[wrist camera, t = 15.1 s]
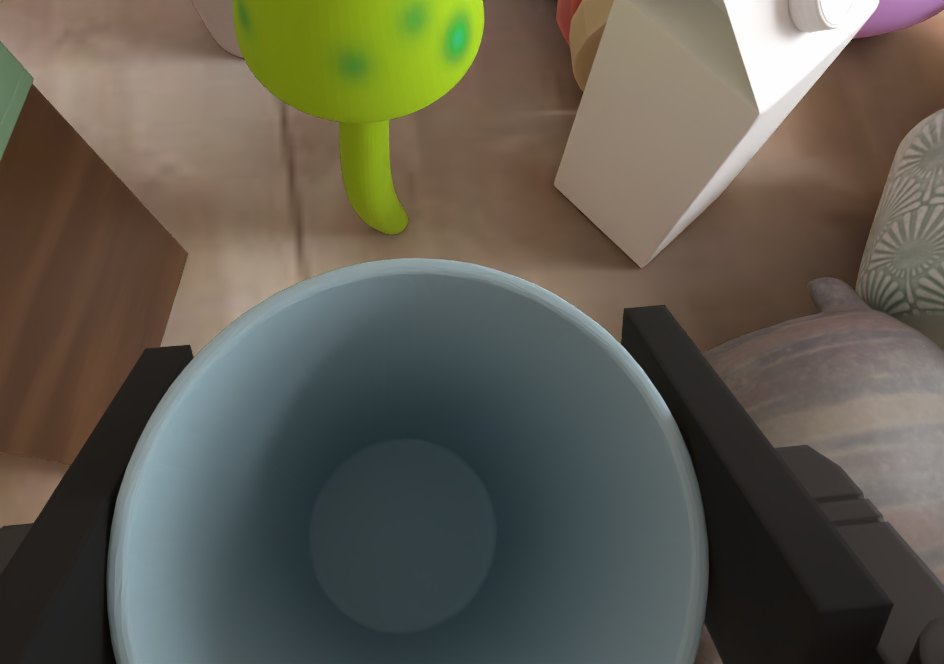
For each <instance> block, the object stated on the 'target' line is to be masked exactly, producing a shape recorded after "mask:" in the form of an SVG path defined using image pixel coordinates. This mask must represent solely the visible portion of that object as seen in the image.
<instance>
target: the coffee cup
mask: <svg viewBox="0 0 944 664" xmlns="http://www.w3.org/2000/svg"><path fill="white" fill-rule="evenodd" d="M191 2H192V3H193V5H194V7H195V8H196V10H197V12H198V13H199V15H200V17H201V18H202V20H203V22H204V23H205V25H206V27H207V28H208V30H209V32H210V33H211V35H212V37H213V38H214V40H215V41H216V42H217V43H218V44H219V45H220V46H221V47H222V48H223V49H225V50H226V51H228V52H229V53H231V54H233V55H236V56H238V57H241V58H243V56H242V53H241V51H240V48H239V45H238V42H237V38H236V33H235V28H234V20H233V5H232V0H191Z"/></svg>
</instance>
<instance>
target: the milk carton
mask: <svg viewBox="0 0 944 664" xmlns="http://www.w3.org/2000/svg"><path fill="white" fill-rule="evenodd" d="M878 4H879V0H614V2H613V5H612V8H611V11H610V14H609V17H608V20H607V23H606V26H605V29H604V32H603V35H602V38H601V41H600V44H599V47H598V50H597V53H596V56H595V59H594V62H593V65H592V68H591V71H590V74H589V78H588V81H587V84H586V87H585V90H584V93H583V96H582V99H581V102H580V105H579V108H578V111H577V114H576V117H575V120H574V123H573V126H572V129H571V132H570V135H569V138H568V141H567V144H566V147H565V150H564V154H563V157H562V160H561V163H560V166H559V169H558V172H557V175H556V178H555V181H554V186H555V187H556V188H557V189H558V190H559V191H560V192H561V193H562V194H563V195H564V196H565V197H567V198H568V199H569V200H570V201H571V202H572V203H573V204H574V205H575V206H576V207H577V208H578V209H579V210H580V211H581V212H582V213H583V214H584V215H586V216H587V217H588V218H589V219H590V220H591V221H592V222H593V223H594V224H595V225H596V226H597V227H598V228H599V229H600V230H601V231H602V232H604V233H605V234H606V235H607V236H608V237H609V238H610V239H611V240H612V241H613V242H614V243H615V244H616V245H617V246H618V247H619V248H620V249H621V250H623V251H624V252H625V253H626V254H627V255H628V256H629V257H630V258H631V259H632V260H633V261H634V262H635V263H636V264H637V265H638V266H639V267H641V268H643V267H645V266H646V265H647V264H648V263H649V262H650V261H651V260H652V259H654V258H655V257H656V256H657V255H658V254H659V253H660V252H661V251H662V250H663V249H664V248H665V247H666V246H667V245H668V244H669V243H671V242H672V241H673V240H674V239H675V238H676V237H677V236H678V235H679V234H680V233H681V232H682V231H683V230H684V229H685V228H686V227H688V226H689V225H690V224H691V223H692V222H693V221H694V220H695V219H696V218H697V217H698V216H699V215H700V214H701V213H702V212H703V211H705V210H706V209H707V208H708V207H709V206H710V205H711V204H712V203H713V202H714V201H715V200H716V199H717V198H718V197H719V196H720V195H721V194H722V193H723V192H724V191H725V189H726V188H727V187H728V186H729V185H730V183H731V182H732V181H733V180H734V179H735V177H736V176H737V175H738V174H739V173H740V171H741V170H742V169H743V168H744V167H745V166H746V164H747V163H748V162H749V161H750V160H751V158H752V157H753V156H754V155H755V154H756V152H757V151H758V150H759V149H760V148H761V146H762V145H763V144H764V143H765V142H766V141H767V139H768V138H769V137H770V136H771V135H772V133H773V132H774V131H775V130H776V129H777V127H778V126H779V125H780V124H781V123H782V122H783V120H784V119H785V118H786V117H787V116H788V114H789V113H790V112H791V111H792V110H793V108H794V107H795V106H796V105H797V104H798V102H799V101H800V100H801V99H802V98H803V97H804V95H805V94H806V93H807V92H808V91H809V89H810V88H811V87H812V86H813V85H814V83H815V82H816V81H817V80H818V79H819V77H820V76H821V75H822V74H823V73H824V72H825V70H826V69H827V68H828V67H829V66H830V64H831V63H832V62H833V61H834V60H835V58H836V57H837V56H838V55H839V54H840V53H841V51H842V50H843V49H844V48H845V47H846V45H847V44H848V43H849V42H850V41H851V39H852V38H853V37H854V36H855V35H856V33H857V32H858V31H859V30H860V29H861V27H862V26H863V25H864V24H865V23H866V21H867V20H868V19H869V18H870V16H871V15H872V14H873V13H874V11H875V10H876V8H877V6H878Z"/></svg>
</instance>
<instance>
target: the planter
mask: <svg viewBox="0 0 944 664" xmlns="http://www.w3.org/2000/svg"><path fill="white" fill-rule="evenodd" d="M855 292H856V293H857V294H858V295H859V296H860V297H861V298H862V299H863V300H864V301H865V302H866V303H867V304H868V305H869V306H870V307H871V309H873V310H877V311H881V312H885V313H887V314H889V315H891V316H892V317H894V318H896V319H898V320H899V321H901V322H904V323H905V324H907V325H909V326H911V327H912V328H914V329H916V330H918V331H920V332H921V333H923V334H924V335H926V336H927V337H929V338H930V339H931V340H933V341H934V342H935V343H936V344H937V345H938V346H939V347H940V348H941V349H942V350H943V351H944V108H943V109H941V110H939V111H937V112H935V113H933V114H932V115H930V116H928V117H927V118H925V119H924V120H922V121H921V122H920V123H918V124H917V125H916V126H915V127H913V128H912V130H911V131H910V132H909V133H908V134H907V135H906V136H905V137H904V139H903V140H902V141H901V143H900V145H899V147H898V149H897V151H896V154H895V157H894V160H893V163H892V166H891V169H890V172H889V175H888V178H887V181H886V184H885V187H884V190H883V193H882V196H881V199H880V202H879V205H878V208H877V211H876V214H875V218H874V221H873V224H872V227H871V230H870V233H869V236H868V240H867V243H866V247H865V250H864V254H863V257H862V261H861V265H860V269H859V273H858V278H857V283H856V288H855Z"/></svg>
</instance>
